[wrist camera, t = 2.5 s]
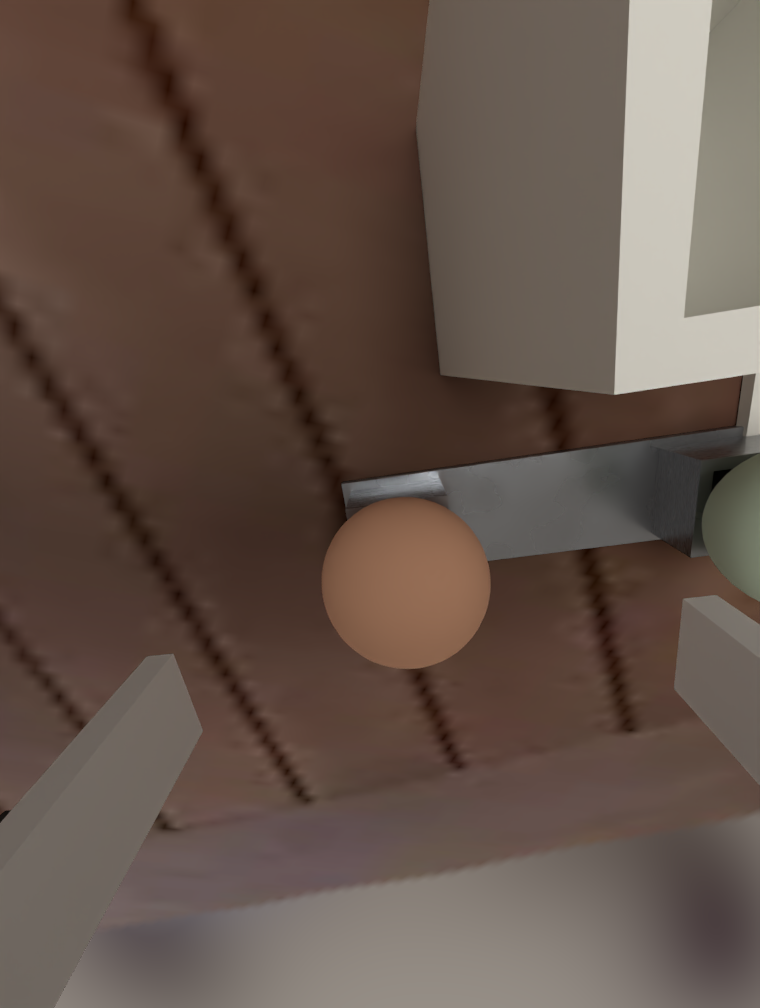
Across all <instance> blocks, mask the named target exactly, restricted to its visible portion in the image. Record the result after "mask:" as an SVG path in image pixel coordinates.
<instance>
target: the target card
mask: <svg viewBox="0 0 760 1008" xmlns="http://www.w3.org/2000/svg"><path fill="white" fill-rule="evenodd" d="M736 426H742V427H744V429H743V436H746V437H747V436H754V435H760V373H755V374H748V375H743V381H742V388H741V395H740V402H739V409H738V416H737V424H736Z"/></svg>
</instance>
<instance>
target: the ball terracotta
mask: <svg viewBox="0 0 760 1008" xmlns="http://www.w3.org/2000/svg"><path fill="white" fill-rule="evenodd" d="M490 585H491V580H490V571H489V565H488V561H487V558H486V555H485V552H484V550H483V547H482V545H481V543H480V541H479V540H478V538H477V537H476V535H475V534H474V532H473V531H472V529H471V528H470V527H469V526H468V525H467V524H466V523H465V522H464V521H463V520H462V519H461V518H460V517H459V516H457V515H456V514H455V513H454V512H452V511H450V510H449V509H447V508H446V507H444V506H442V505H440V504H437V503H435V502H432V501H429V500H426V499H420V498H415V497H397V498H390V499H385V500H381V501H378V502H375V503H373V504H370V505H368V506H366V507H364V508H363V509H361V510H360V511H358V512H357V513H355V514H354V515H353V516H352V517H351V518H349V519H348V520H347V521H346V522H345V523H344V524H343V526H342V527H341V528H340V529H339V530H338V532H337V533H336V535H335V536H334V538H333V540H332V542H331V544H330V546H329V548H328V550H327V553H326V556H325V559H324V563H323V569H322V595H323V601H324V604H325V608H326V611H327V614H328V616H329V619H330V621H331V623H332V625H333V626H334V628H335V629H336V631H337V632H338V634H339V635H340V637H341V638H342V639H343V640H344V641H345V642H346V643H347V644H348V645H349V646H350V647H351V648H352V649H353V650H355V651H356V652H357V653H359V654H360V655H361V656H363V657H365V658H366V659H368V660H370V661H372V662H375V663H377V664H380V665H383V666H387V667H392V668H398V669H416V668H422V667H427V666H430V665H434V664H436V663H439V662H442V661H444V660H446V659H447V658H449V657H451V656H452V655H454V654H455V653H457V652H458V651H459V650H460V649H461V648H463V647H464V646H465V645H466V644H467V643H468V642H469V640H470V639H471V638H472V637H473V636H474V634H475V633H476V631H477V630H478V628H479V626H480V624H481V622H482V620H483V618H484V616H485V613H486V610H487V607H488V603H489V597H490Z"/></svg>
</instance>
